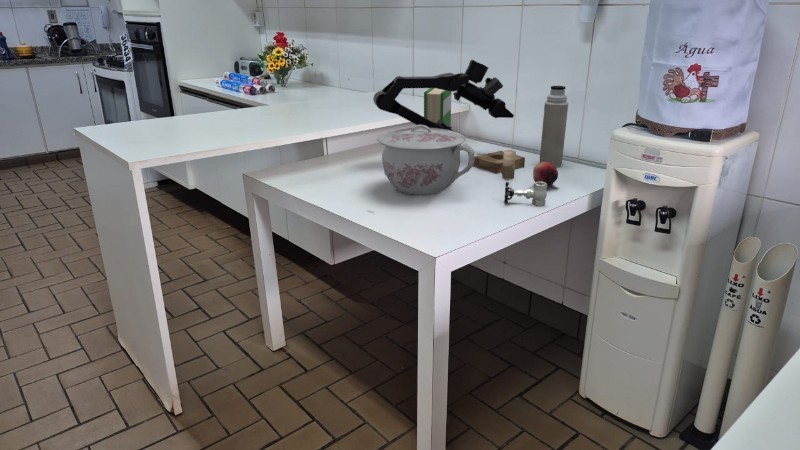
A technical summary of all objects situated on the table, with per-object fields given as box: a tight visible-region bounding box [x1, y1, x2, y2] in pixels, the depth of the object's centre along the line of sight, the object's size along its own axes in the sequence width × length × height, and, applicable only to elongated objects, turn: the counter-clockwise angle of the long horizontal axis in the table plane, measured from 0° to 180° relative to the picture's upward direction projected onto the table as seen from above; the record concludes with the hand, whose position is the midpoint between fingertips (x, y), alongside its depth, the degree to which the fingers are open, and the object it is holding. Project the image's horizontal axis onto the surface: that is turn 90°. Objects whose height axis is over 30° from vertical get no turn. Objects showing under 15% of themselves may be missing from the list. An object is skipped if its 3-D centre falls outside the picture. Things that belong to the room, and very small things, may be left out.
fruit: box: [532, 162, 559, 188], centre depth 175 cm, size 8×8×8 cm
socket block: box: [472, 150, 526, 175], centre depth 198 cm, size 14×12×4 cm
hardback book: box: [423, 88, 453, 127], centre depth 217 cm, size 18×7×24 cm, turn 165°
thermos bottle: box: [538, 85, 569, 168], centre depth 195 cm, size 8×8×28 cm
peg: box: [501, 149, 517, 180], centre depth 184 cm, size 4×4×9 cm
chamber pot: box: [376, 124, 476, 196], centre depth 172 cm, size 28×28×21 cm
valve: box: [504, 181, 548, 208], centre depth 161 cm, size 7×7×12 cm
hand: (509, 113), depth 202 cm, fingers open, 9 cm apart
